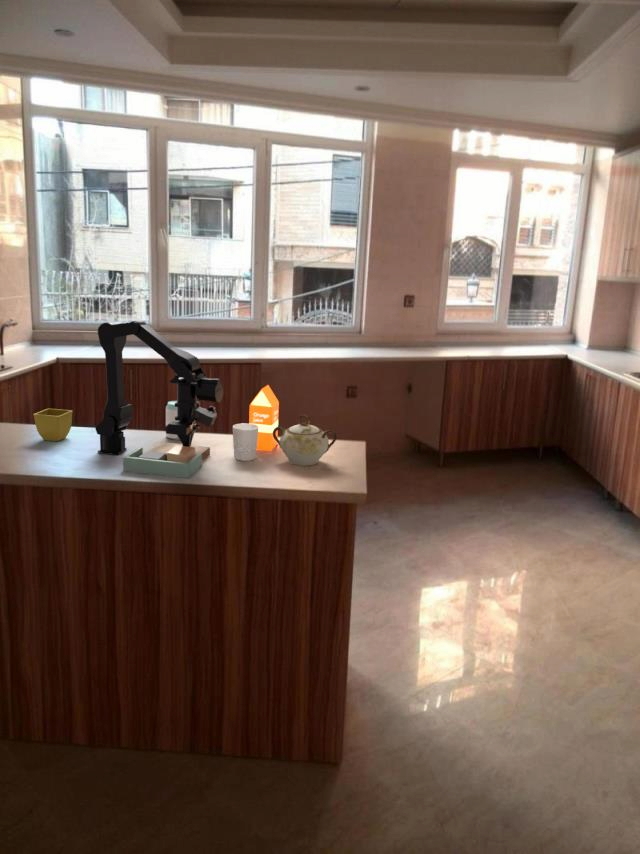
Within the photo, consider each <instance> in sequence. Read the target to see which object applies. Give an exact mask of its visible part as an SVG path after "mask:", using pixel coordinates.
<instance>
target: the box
mask: <svg viewBox="0 0 640 854" xmlns="http://www.w3.org/2000/svg"><path fill="white" fill-rule="evenodd" d="M143 450H144V447H143V446H141V447H140V446H139V447H137V448H136V449H134V450H132V451H130V452H129V453H127V454H126V455H124V456H123V457H122V470H123V472H131V473H139V474H140V473H142V474H147V475H149V474H150V475H158V476H166V477H175V478H182V479H189V478H190V477H192V476H193V475H194V474H195V473H196V472H198V470H200V469H201V468H202V467H203V463H202V462H203V461H202V454H197V455H196V456H195V457H193V458H192V459H191V460H190V461H188V462H187V463H181V462H172V461H163V460H154V459H145V458H138V457H139V456H141V455H142V454H143V453H144V452H143Z"/></svg>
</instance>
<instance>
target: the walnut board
mask: <svg viewBox="0 0 640 854" xmlns="http://www.w3.org/2000/svg"><path fill="white" fill-rule="evenodd" d="M176 445H180V446H183V445H182V443H175V442H174V443H173V442H163V441H160V442H159V443H157V444H156V445H154V446H153V447H151V448H150V449H148V450H147V451H149V452H161V453H166V461H167V452H168V451H170V450H171V449H172V448H173V447H175V446H176ZM190 447H194V448H195V456H196V455H197V454H202V462H203V461H205V460H206V459H207V458H208V457H209V456H210V455H211V446H204V445H203V446H201V445H193V444H191V446H190ZM195 456H194V457H195ZM172 462H173V461H172Z"/></svg>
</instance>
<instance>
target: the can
mask: <svg viewBox="0 0 640 854" xmlns="http://www.w3.org/2000/svg"><path fill="white" fill-rule="evenodd" d="M176 402H177V400H171V401H168V402H167V405H166V406H165V427H166V426H167V425H168V424H169V423H171V422H173V421H176V420H175V417H176V416H177V407H175V403H176ZM177 422H179V421H177ZM165 436H166V437H167V438H168V439H170V440H180V439H179V437H178V435H175V434H166V433H165Z"/></svg>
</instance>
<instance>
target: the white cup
mask: <svg viewBox="0 0 640 854" xmlns="http://www.w3.org/2000/svg"><path fill="white" fill-rule="evenodd" d="M258 429H259V427H258V426H257V425H255V424H249V422H248V423H245V422H244V423H243V422H242V423H236V424H233V425H232V445H233V448H232V449H233V457H234V459H235V460H237V461H243V462H246V461H247V462H248V461H253V460H255V459H256V458H257V451H258V450H257V442H258Z"/></svg>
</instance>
